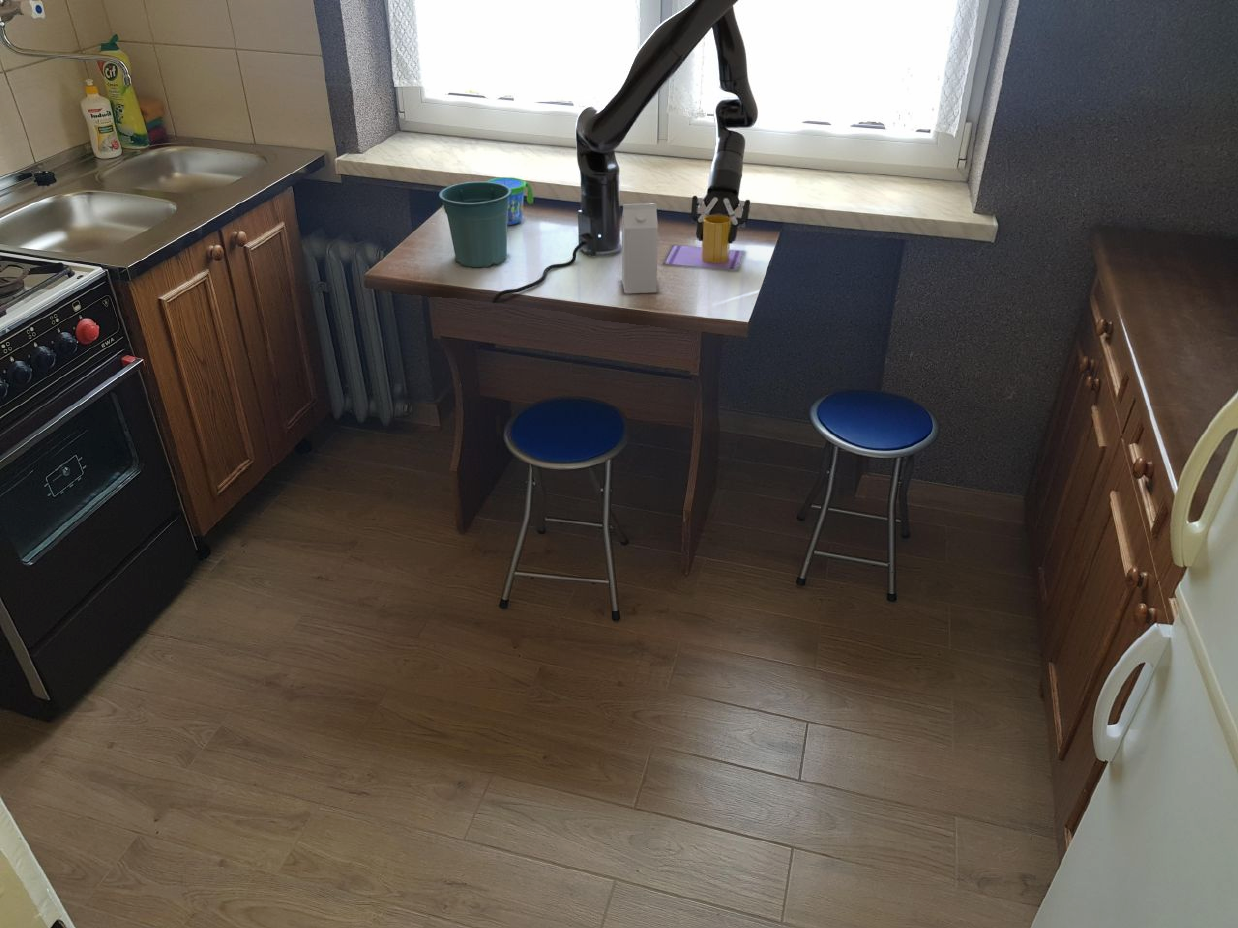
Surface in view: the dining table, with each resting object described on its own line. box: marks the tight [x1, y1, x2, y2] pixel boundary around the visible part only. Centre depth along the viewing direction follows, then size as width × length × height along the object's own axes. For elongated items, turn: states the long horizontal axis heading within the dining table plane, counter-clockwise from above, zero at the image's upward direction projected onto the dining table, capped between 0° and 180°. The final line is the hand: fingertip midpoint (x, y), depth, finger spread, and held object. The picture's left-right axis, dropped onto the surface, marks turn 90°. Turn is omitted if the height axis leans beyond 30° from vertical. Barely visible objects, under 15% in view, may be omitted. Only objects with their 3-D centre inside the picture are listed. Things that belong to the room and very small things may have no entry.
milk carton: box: [621, 202, 659, 294], centre depth 208 cm, size 7×7×19 cm
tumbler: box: [701, 215, 732, 263], centre depth 224 cm, size 6×6×10 cm
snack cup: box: [485, 176, 534, 227], centre depth 246 cm, size 16×10×10 cm
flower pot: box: [438, 181, 511, 268], centre depth 224 cm, size 16×16×16 cm
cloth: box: [664, 244, 744, 271], centre depth 228 cm, size 17×12×1 cm
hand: (715, 240), depth 223 cm, fingers closed on tumbler, 6 cm apart
